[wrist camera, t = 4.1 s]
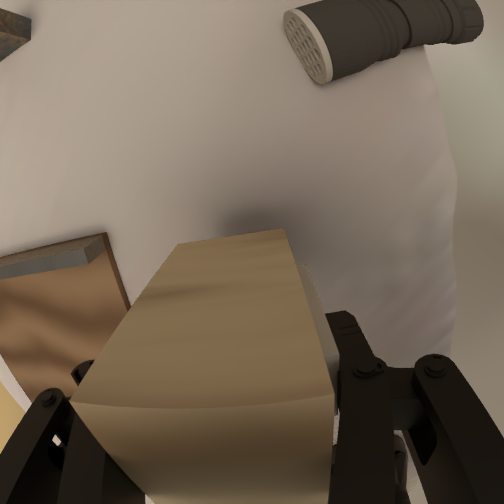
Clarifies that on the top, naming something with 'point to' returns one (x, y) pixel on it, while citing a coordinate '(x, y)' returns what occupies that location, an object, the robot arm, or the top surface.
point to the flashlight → (374, 31)
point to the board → (58, 310)
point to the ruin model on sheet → (13, 32)
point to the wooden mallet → (217, 380)
